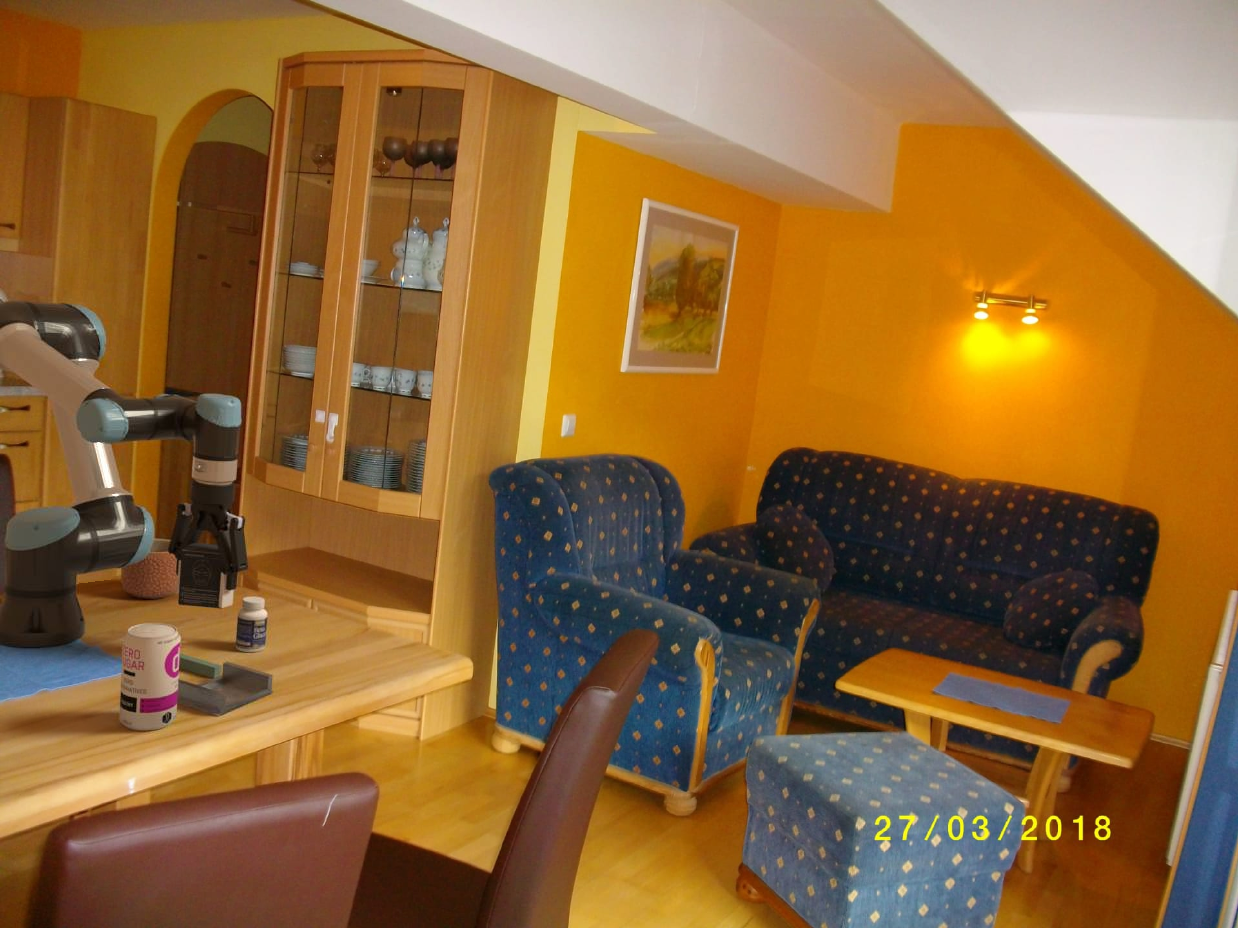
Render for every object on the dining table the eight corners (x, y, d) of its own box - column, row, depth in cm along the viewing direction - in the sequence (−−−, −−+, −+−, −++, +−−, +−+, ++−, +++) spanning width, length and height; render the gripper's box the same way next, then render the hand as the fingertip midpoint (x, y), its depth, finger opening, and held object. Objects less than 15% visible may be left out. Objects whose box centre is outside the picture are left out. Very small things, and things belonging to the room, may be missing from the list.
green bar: (154, 660, 189) (154, 649, 188) (160, 658, 190) (161, 647, 190) (214, 678, 184) (214, 667, 183) (220, 676, 185) (221, 665, 185)
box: (230, 600, 195) (234, 545, 193) (221, 609, 189) (226, 553, 188) (186, 595, 194) (191, 541, 192) (176, 605, 189) (181, 548, 187)
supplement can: (184, 713, 168) (189, 624, 166) (163, 734, 160) (168, 641, 158) (133, 708, 168) (137, 619, 165) (109, 729, 159) (114, 635, 157)
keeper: (171, 701, 172) (172, 681, 171) (228, 679, 184) (229, 660, 183) (218, 716, 168) (219, 696, 168) (273, 692, 180) (274, 673, 180)
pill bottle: (255, 654, 197) (258, 605, 196) (229, 649, 198) (232, 600, 197) (270, 646, 202) (273, 598, 201) (245, 641, 203) (248, 593, 202)
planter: (186, 601, 223) (189, 551, 222) (122, 604, 217) (125, 553, 215) (176, 585, 234) (179, 537, 232) (115, 587, 227) (118, 538, 225)
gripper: (151, 471, 189) (143, 589, 192) (246, 495, 181) (236, 618, 184) (183, 466, 196) (174, 581, 199) (276, 489, 188) (265, 609, 191)
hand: (204, 599), depth 192 cm, fingers closed on box, 9 cm apart
